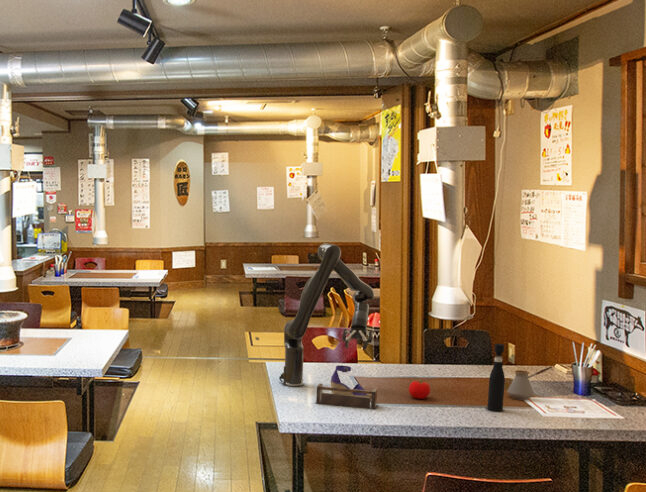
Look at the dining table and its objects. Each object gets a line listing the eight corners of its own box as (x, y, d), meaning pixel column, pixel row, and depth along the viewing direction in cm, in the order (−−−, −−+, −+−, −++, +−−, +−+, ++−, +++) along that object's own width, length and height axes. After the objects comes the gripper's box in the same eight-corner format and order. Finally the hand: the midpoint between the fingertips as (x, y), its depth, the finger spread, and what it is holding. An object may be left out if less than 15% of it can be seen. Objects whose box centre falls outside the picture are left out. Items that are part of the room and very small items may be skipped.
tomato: (404, 397, 361) (405, 380, 360) (417, 394, 367) (418, 377, 366) (421, 401, 354) (422, 384, 353) (434, 398, 360) (435, 381, 359)
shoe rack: (316, 403, 352) (316, 386, 351) (319, 399, 358) (319, 383, 357) (374, 409, 342) (375, 392, 341) (376, 405, 349) (377, 388, 347)
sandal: (372, 399, 359) (374, 368, 356) (330, 397, 363) (331, 366, 360) (371, 395, 367) (373, 364, 364) (330, 393, 370) (331, 363, 368)
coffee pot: (515, 401, 354) (517, 370, 351) (502, 395, 365) (504, 365, 362) (557, 400, 356) (560, 369, 354) (543, 393, 367) (545, 363, 365)
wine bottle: (484, 407, 343) (488, 343, 338) (498, 407, 344) (502, 343, 339) (491, 411, 337) (496, 346, 332) (505, 411, 338) (510, 345, 333)
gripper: (344, 316, 381) (339, 343, 373) (373, 317, 376) (369, 345, 367) (346, 325, 387) (342, 351, 379) (374, 326, 381) (370, 353, 373)
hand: (355, 348), depth 373 cm, fingers open, 8 cm apart
